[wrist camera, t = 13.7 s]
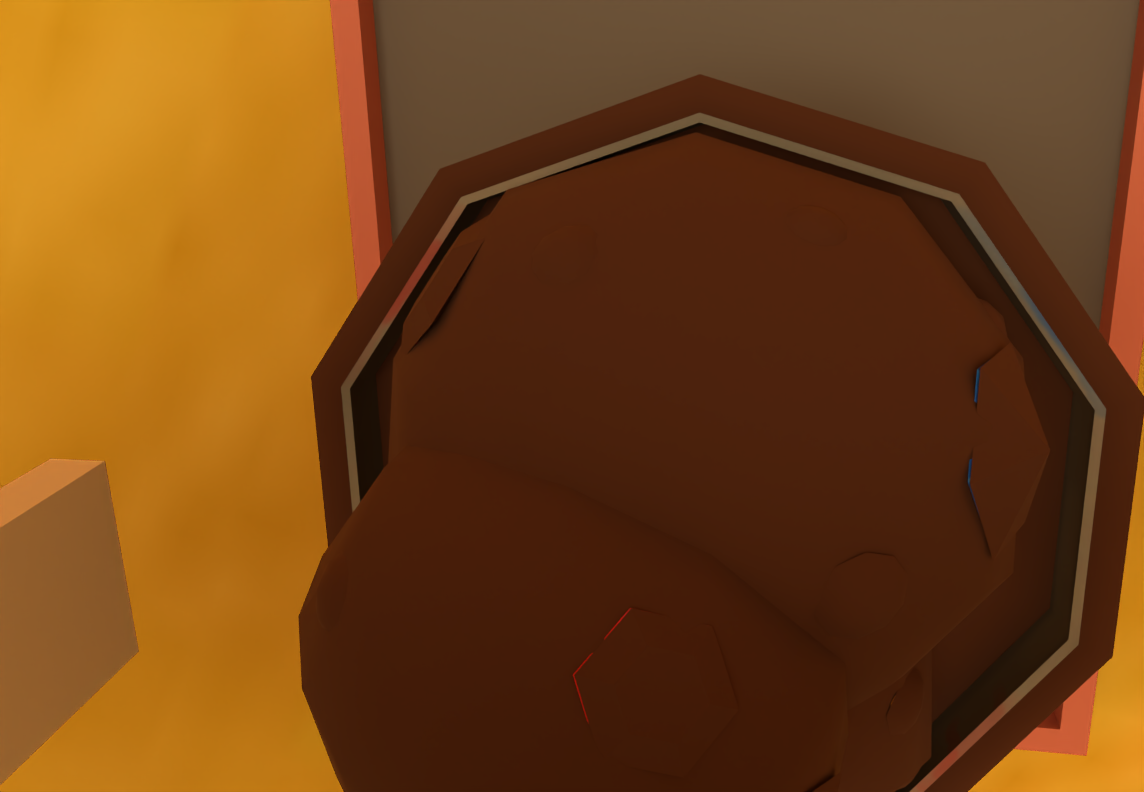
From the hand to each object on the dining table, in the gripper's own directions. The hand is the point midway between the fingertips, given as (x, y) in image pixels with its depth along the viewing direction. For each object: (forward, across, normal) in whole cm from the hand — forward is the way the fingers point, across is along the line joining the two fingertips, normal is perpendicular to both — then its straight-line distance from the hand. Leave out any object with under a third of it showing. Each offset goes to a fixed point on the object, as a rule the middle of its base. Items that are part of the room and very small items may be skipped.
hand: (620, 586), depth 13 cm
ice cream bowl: (+12, +1, 0) cm, 12 cm away
